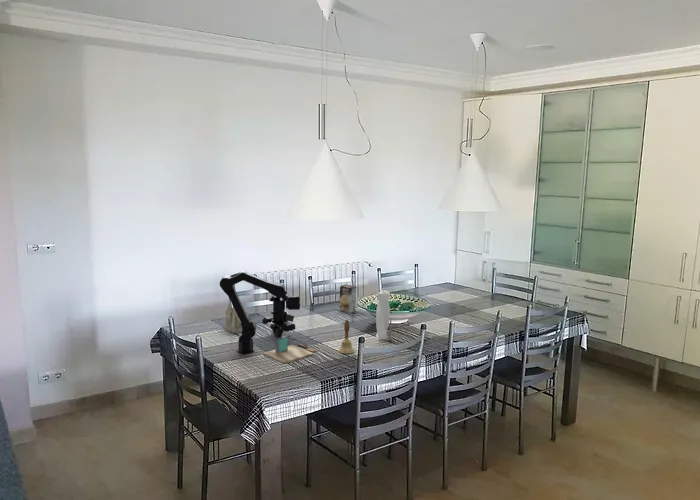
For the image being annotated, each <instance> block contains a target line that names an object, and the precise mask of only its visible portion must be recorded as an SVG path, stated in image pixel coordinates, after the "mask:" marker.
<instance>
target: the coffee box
mask: <svg viewBox="0 0 700 500" xmlns="http://www.w3.org/2000/svg"><path fill="white" fill-rule="evenodd" d="M356 302H357V286H354V285H350V284H342V285H340V286H339V304H338V305H339V306H338V311H341V312H346V313H350V314H351V313H354V312H355V311H356V305H357V303H356Z"/></svg>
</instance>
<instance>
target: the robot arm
mask: <svg viewBox="0 0 700 500" xmlns="http://www.w3.org/2000/svg"><path fill="white" fill-rule="evenodd" d="M240 282H246V283H248V284H251V285H252V286H256V287H257V288H261V289H262V290H265V291H267V292H268V293H269V294H271V297H269V299H268V301H269V302H272V311H271V312H270V314H271V315H270V316H266V317H263V318H262V320H261V322H262V324H263V325H267V324H268V323H270V326H269V328H270V330H271V332H272V331H273V332H272V334H273V333H274V334H273V335H274V337H275V339H276V338H279V337H282V333H283V331H286V332H287V331H288V332H291V331H294V330H296V324H295V323H293V322H294V319H295V315H292V314H290V313H289V314H287V312H288V311H287V310H286V309H288V310H289V311H300V310H301V302H300V299H301V298H300V297H301V296H300V295H289V293H288V292H287V291H286V286H285V285H284V284H283V283H281V282H276V281H269V280H266V279H264V278H261V277H258V276H256V275H254V274H253V273H249V272H247V271H246V270H241V271H240V272H238V273H233V274H231V275H229V274H226V275H223V276H222V278H221V279H220V281H219V287H220V289H221V290H222V291H223V293H225V294H226V296H228V299H229V301H230V304H232V305H231V306H232V307H233V308H234V309H235V311H236V313H237V315H238V317H239V319H240V322H241V326H242V332H241V333H239V336H238V340H237V341H238V345H237V346H238V347H237V348H238V349H235V350H236V352H238V353H239V354H242V355H246V354H250V353H253V352H255V349H254V339H253V338H254V337H255V336H256V333H257V324H256V322H255V319H254V318H251V319H250V316H249V315H248V316H249V317H248V316H247V314H248V313H247V314H246V312H247V311H246V310H245V308H244V306H243V303H242V301H241V299H240V297H239V296H238V292H237V290H236V284H238V283H240ZM285 310H286V311H287V312H286V311H285ZM288 321H289V323H284V322H288Z"/></svg>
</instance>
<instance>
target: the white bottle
mask: <svg viewBox="0 0 700 500" xmlns="http://www.w3.org/2000/svg"><path fill="white" fill-rule="evenodd" d="M378 291H380V292H378ZM376 293H377V301H378V302H377V305H376V312H375V327H376V335H375V338H376V340H378V341H379V342H389V340H392V331H393V330H392V329H393V327H392V326H393V325H392V319H391V316H390V315H391V312H390V311H391V309H390V304H389V299H390V296H391V291H389V290H384V289H381V288H376ZM387 332H388V334H387Z"/></svg>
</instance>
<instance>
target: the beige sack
mask: <svg viewBox="0 0 700 500" xmlns="http://www.w3.org/2000/svg"><path fill="white" fill-rule="evenodd" d="M245 312H246V314H247V316H248V317H249V318H250V316H249V314H248V312H247V311H245ZM224 324H225V325H224V328H223V329H224V330H225V331H227V332H230V333H233V334H240V333H241V332H242V326H241V322H240V319H239V317H238V315H237V313H236V311H235V309H234V307H233V305H231V302H228V304H227V309H226V310H225V323H224Z"/></svg>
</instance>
